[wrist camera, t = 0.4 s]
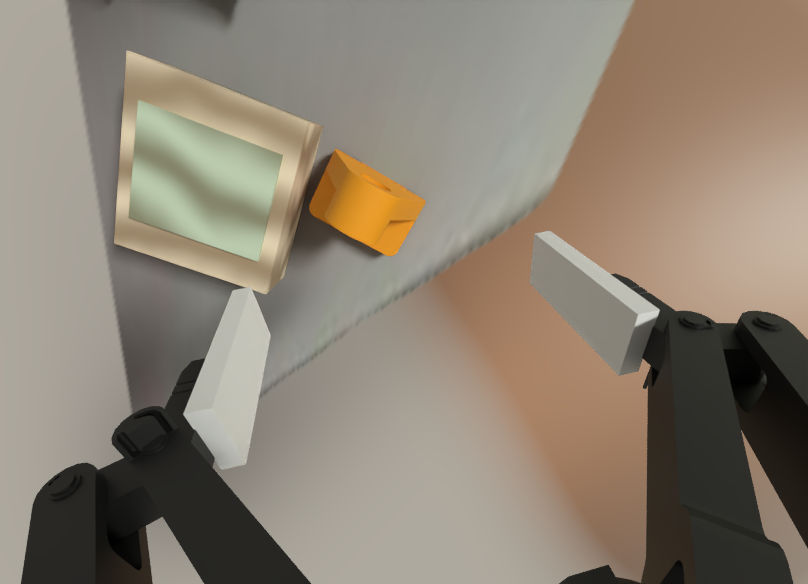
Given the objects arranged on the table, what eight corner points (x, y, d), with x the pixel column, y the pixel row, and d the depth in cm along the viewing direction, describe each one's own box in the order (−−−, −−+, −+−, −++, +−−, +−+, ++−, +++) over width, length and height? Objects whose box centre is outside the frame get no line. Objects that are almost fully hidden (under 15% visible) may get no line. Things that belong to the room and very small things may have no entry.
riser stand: (170, 65, 36) (123, 49, 30) (323, 126, 38) (307, 122, 32) (152, 230, 42) (111, 244, 36) (284, 275, 44) (264, 295, 38)
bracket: (312, 208, 41) (276, 230, 30) (339, 149, 39) (311, 149, 28) (394, 252, 43) (388, 289, 32) (424, 199, 41) (430, 218, 30)
